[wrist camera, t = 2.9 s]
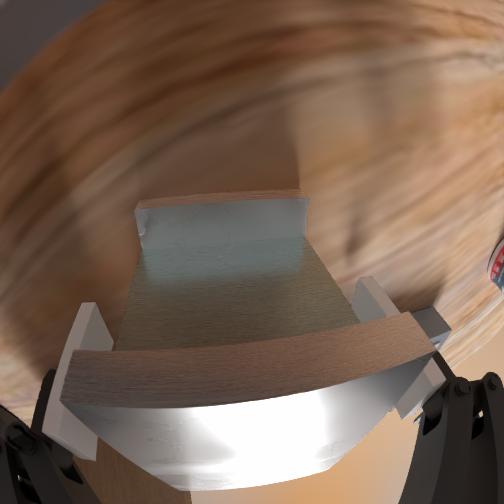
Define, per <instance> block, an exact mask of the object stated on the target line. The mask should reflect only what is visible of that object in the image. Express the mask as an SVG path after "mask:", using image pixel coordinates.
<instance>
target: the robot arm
mask: <svg viewBox="0 0 504 504" xmlns="http://www.w3.org/2000/svg"><path fill="white" fill-rule="evenodd" d="M351 308H352V309H353V311H354V312H355V314H356V316H357V317H358V319H359V320H360V322H361V323H364V322H369V321H373V320H377V319H381V318H385V317H389V316H393V315H397V314H400V312H399V310H398V309H397V308H396V306H395V305H394V304H393V302H392V301H391V300H390V298H389V297H388V296H387V295H386V293H385V292H384V291H383V289H382V288H381V287H380V286H379V284H378V283H377V282H376V281H375V279H374V278H373V277H372V276H368V277H362V278H359V280H358V284H357V287H356V291H355V294H354V298H353V301H352V304H351ZM428 338H429V337H428ZM431 342H432V341H431ZM113 343H114V341H113V339H112V337H111V335H110V333H109V331H108V329H107V327H106V325H105V323H104V320H103V318H102V316H101V314H100V312H99V309H98V307H97V305H96V302H90V303H82V304H81V306H80V309H79V311H78V313H77V316H76V318H75V321H74V323H73V326H72V328H71V331H70V334H69V336H68V339H67V342H66V345H65V348H64V350H63V353H62V356H61V359H60V362H59V366H58V369H57V370H55V369H50V370H49V371H48V373H47V374H46V376H45V377H44V379H43V382H42V385H41V391H40V392H39V396H38V397H39V399H38V400H37V403H36V407H35V411H34V415H33V420H32V424H31V428H30V429H29V428H28V427H27V426H26V425H24V424H23V423H22V422H21V421H20V420H18V419H17V418H16V417H14V416H13V415H11V414H10V413H9V412H7V411H6V410H4V409H3V408H2V407H0V504H102V503H101V501H100V500H99V498H98V497H97V496H96V494H95V493H94V491H93V490H92V488H91V487H90V485H89V484H88V482H87V480H86V479H85V477H84V476H83V474H82V472H81V471H80V469H79V467H78V466H77V464H76V462H75V461H74V460H73V454H74V455H76V456H78V457H79V458H82V459H87V460H92V461H96V450H97V439H98V436H97V435H96V434H95V433H94V432H92V431H91V430H90V429H89V428H88V427H87V426H85V425H84V424H83V423H82V422H81V421H80V420H79V419H78V418H77V417H75V416H74V415H73V414H72V413H71V412H70V411H69V410H68V409H67V408H66V407H65V406H64V405H63V404H62V403H61V402H60V401H59V400H60V396H61V392H62V388H63V384H64V380H65V376H66V373H67V369H68V366H69V362H70V359H71V356H72V353H73V350H94V351H112V348H113ZM395 407H396V409H397V411H398V413H399V415H400V417H401V419H405V418H407V417H409V416H411V415H413V414H415V413H416V412H417V411H418V410H419V409H420V408H421V407H422V409H423V412H422V413H421V414H420V415H419V416H418V417H417V418H416V419H415V420H414V424H416V423H417V422H418V421H419V420H420V422H419V423H418V425H419V430H418V435H417V440H416V445H415V450H414V453H413V458H412V462H411V465H410V469H409V472H408V476H407V480H406V483H405V486H404V489H403V492H402V495H401V498H400V501H399V503H398V504H504V388H503V384H502V381H501V379H500V377H499V376H498V375H497V374H496V373H494V372H488V373H486V375H485V376H484V377H483V378H482V379H481V380H475V381H468V380H467V379H465V378H463V377H456V376H455V375H454V373H453V372H452V371H451V369H450V368H449V366H448V365H447V363H446V362H445V360H444V359H443V357H442V356H441V354H440V353H439V351H437V350H436V352H435V353H434V355H433V356H432V358H431V359H430V361H429V362H428V363H427V365H426V366H425V368H424V369H423V370H422V372H421V373H420V374H419V376H418V377H417V378H416V380H415V381H414V382H413V384H412V385H411V386H410V387H409V389H408V390H407V391H406V392H405V394H404V395H403V396H402V397H401V398H400V400H399V401H398V402H397V403H396V404H395ZM481 411H482V412H483V416H482V417H480V416H479V413H480V412H481ZM18 475H19V479H18Z"/></svg>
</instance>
